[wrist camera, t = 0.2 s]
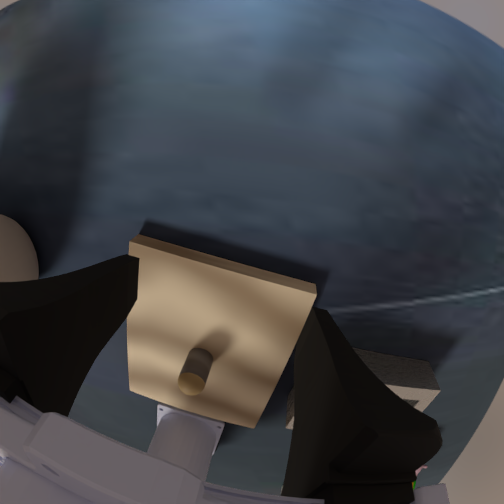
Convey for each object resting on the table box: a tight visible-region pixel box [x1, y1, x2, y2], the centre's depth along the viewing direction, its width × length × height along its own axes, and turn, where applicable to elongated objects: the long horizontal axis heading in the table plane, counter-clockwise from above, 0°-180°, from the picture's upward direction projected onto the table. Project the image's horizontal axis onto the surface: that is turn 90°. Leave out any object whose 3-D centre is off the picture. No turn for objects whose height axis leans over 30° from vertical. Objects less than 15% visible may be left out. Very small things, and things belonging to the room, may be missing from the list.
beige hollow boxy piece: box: [286, 347, 441, 429], centre depth 24 cm, size 8×12×4 cm, turn 76°
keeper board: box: [127, 234, 317, 428], centre depth 23 cm, size 18×14×6 cm
